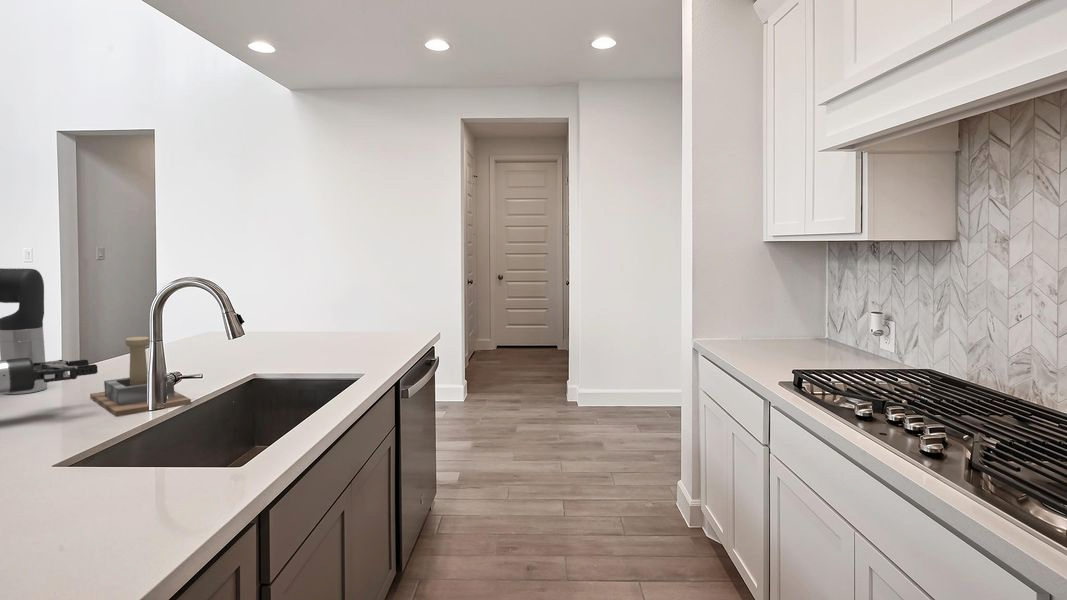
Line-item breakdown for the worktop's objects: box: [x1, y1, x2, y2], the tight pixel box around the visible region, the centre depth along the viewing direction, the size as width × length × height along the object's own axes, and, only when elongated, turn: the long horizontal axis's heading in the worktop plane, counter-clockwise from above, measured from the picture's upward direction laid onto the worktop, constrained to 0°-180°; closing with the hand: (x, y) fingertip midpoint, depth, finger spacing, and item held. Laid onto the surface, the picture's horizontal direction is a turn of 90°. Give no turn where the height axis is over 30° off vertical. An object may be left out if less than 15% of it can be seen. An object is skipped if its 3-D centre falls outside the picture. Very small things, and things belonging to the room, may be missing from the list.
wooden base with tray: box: [89, 376, 192, 418], centre depth 155 cm, size 24×16×5 cm, turn 48°
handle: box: [125, 336, 150, 386], centre depth 154 cm, size 5×6×15 cm
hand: (92, 366), depth 147 cm, fingers open, 8 cm apart
